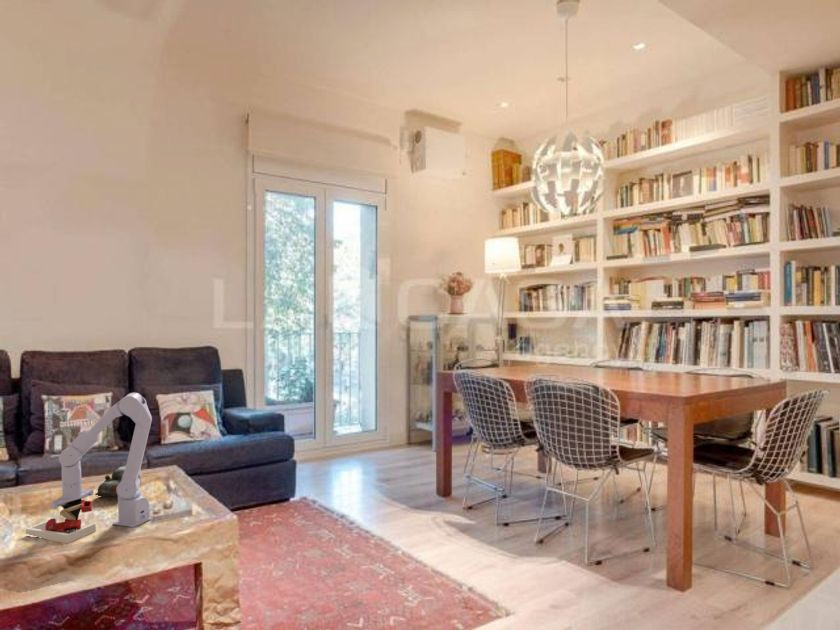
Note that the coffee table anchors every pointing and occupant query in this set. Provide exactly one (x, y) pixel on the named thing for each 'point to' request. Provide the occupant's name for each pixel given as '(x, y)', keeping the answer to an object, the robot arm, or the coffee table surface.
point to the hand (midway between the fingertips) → (73, 522)
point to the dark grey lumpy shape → (111, 483)
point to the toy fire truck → (68, 519)
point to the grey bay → (57, 536)
